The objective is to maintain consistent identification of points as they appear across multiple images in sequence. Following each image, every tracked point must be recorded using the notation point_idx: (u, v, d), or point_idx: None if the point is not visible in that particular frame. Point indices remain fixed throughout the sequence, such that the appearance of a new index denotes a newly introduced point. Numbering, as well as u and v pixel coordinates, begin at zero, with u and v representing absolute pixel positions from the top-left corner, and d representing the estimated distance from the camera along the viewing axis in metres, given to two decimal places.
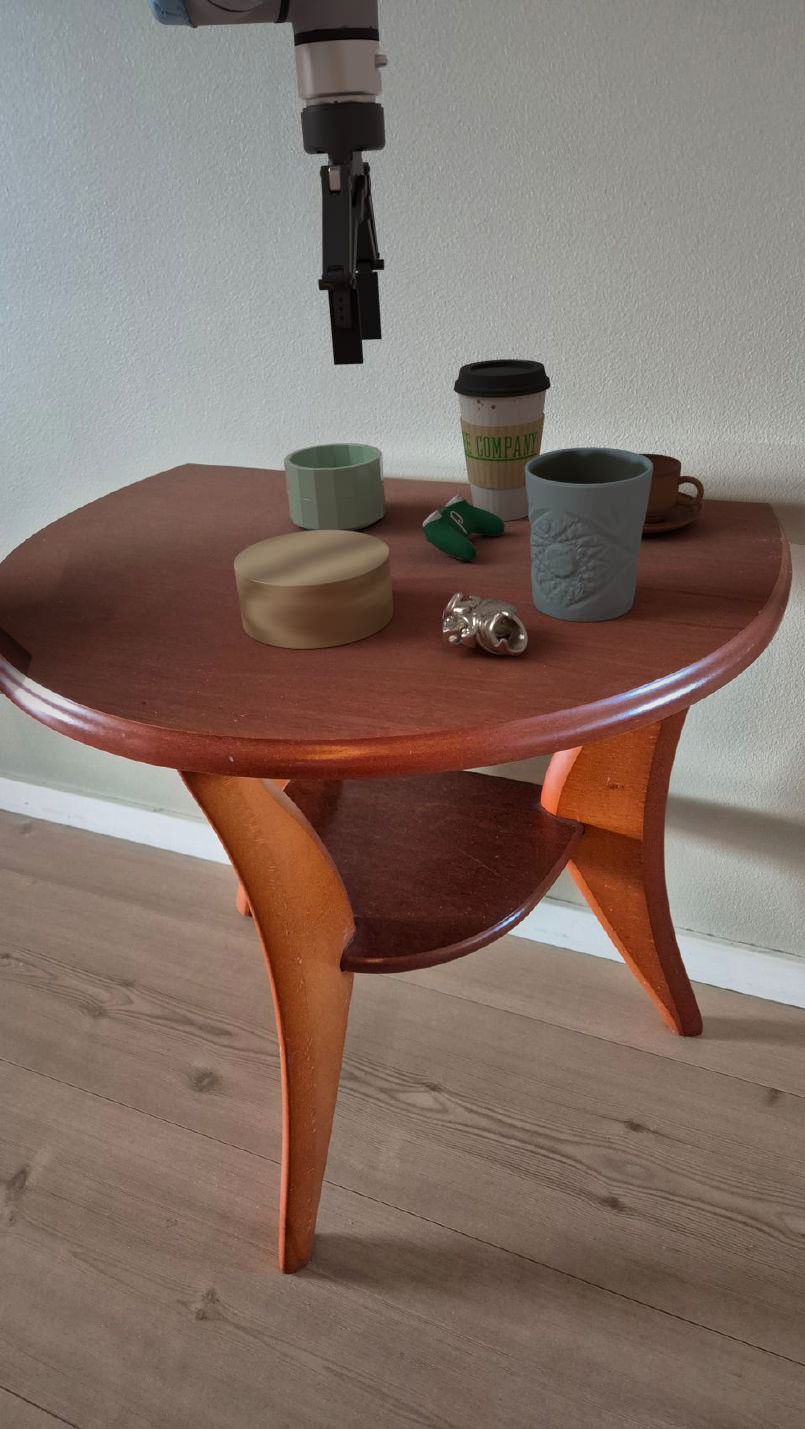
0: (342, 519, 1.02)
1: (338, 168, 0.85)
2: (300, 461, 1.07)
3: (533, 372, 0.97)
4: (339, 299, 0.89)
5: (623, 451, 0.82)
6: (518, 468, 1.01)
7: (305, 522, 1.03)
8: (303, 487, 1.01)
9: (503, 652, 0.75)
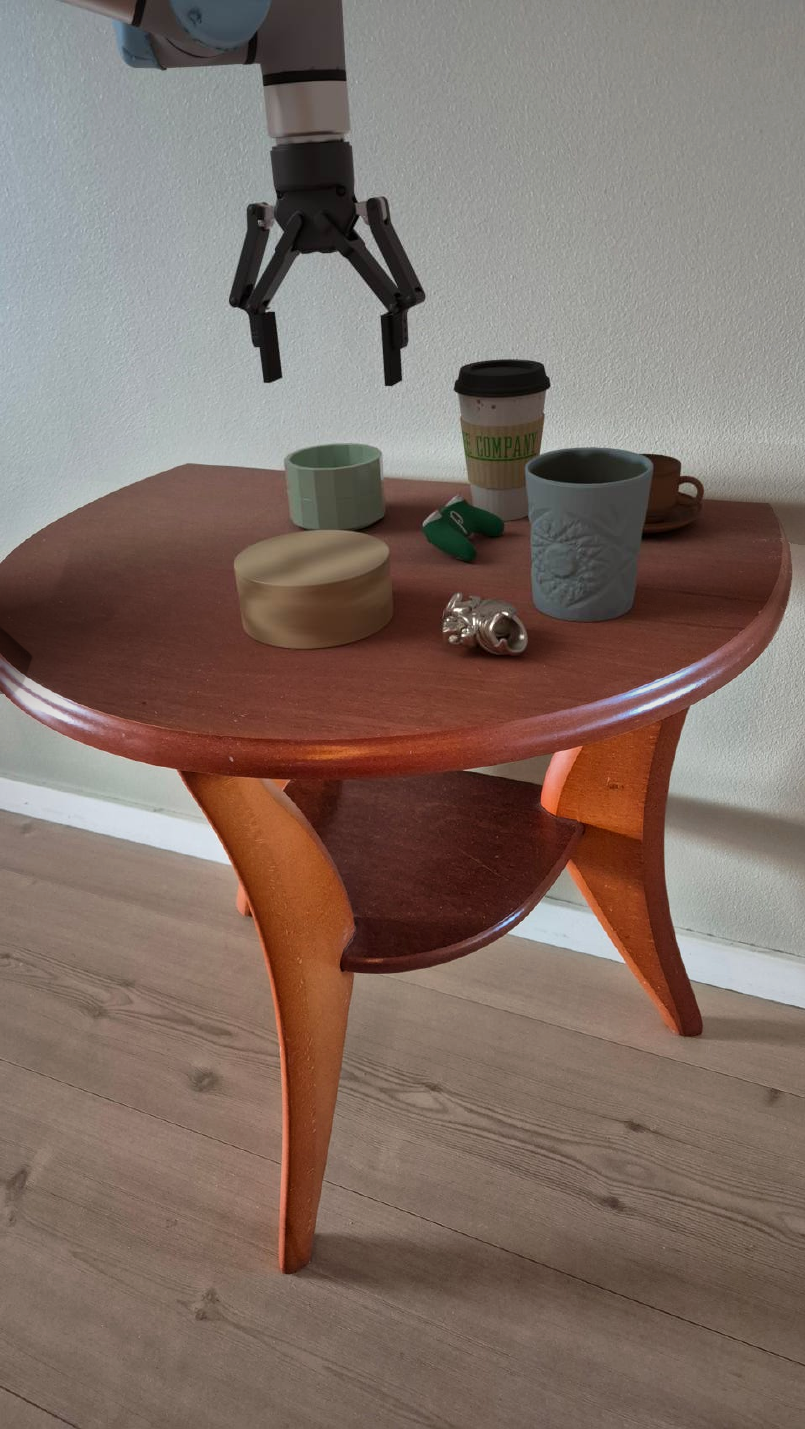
0: (342, 519, 1.02)
1: (383, 200, 0.90)
2: (300, 461, 1.07)
3: (533, 372, 0.97)
4: None
5: (623, 451, 0.82)
6: (518, 468, 1.01)
7: (305, 522, 1.03)
8: (303, 487, 1.01)
9: (503, 652, 0.75)
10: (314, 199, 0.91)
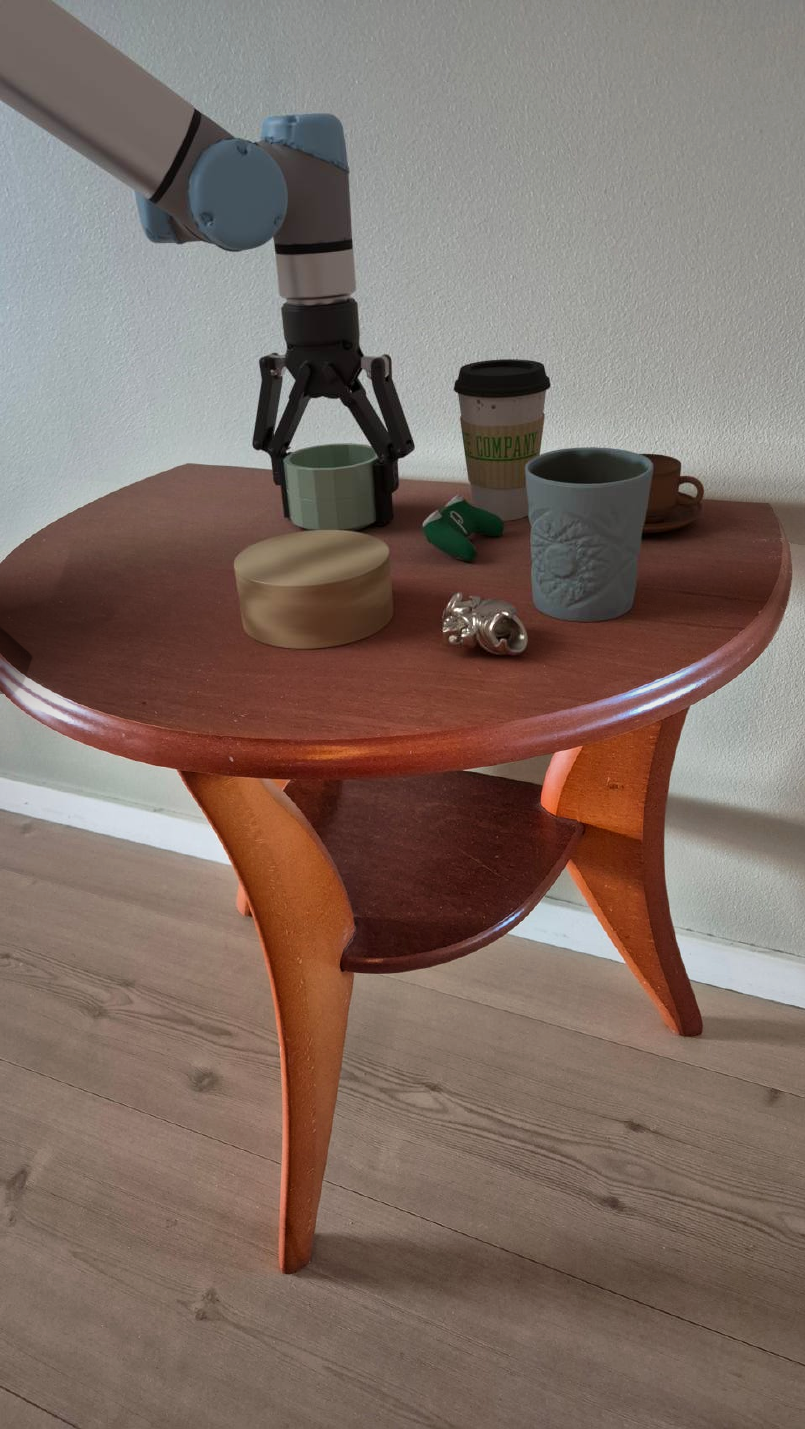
0: (342, 519, 1.02)
1: (387, 359, 0.97)
2: (300, 461, 1.07)
3: (533, 372, 0.97)
4: (393, 468, 1.02)
5: (623, 451, 0.82)
6: (518, 468, 1.01)
7: (305, 522, 1.03)
8: (303, 487, 1.01)
9: (503, 652, 0.75)
10: (322, 351, 0.98)
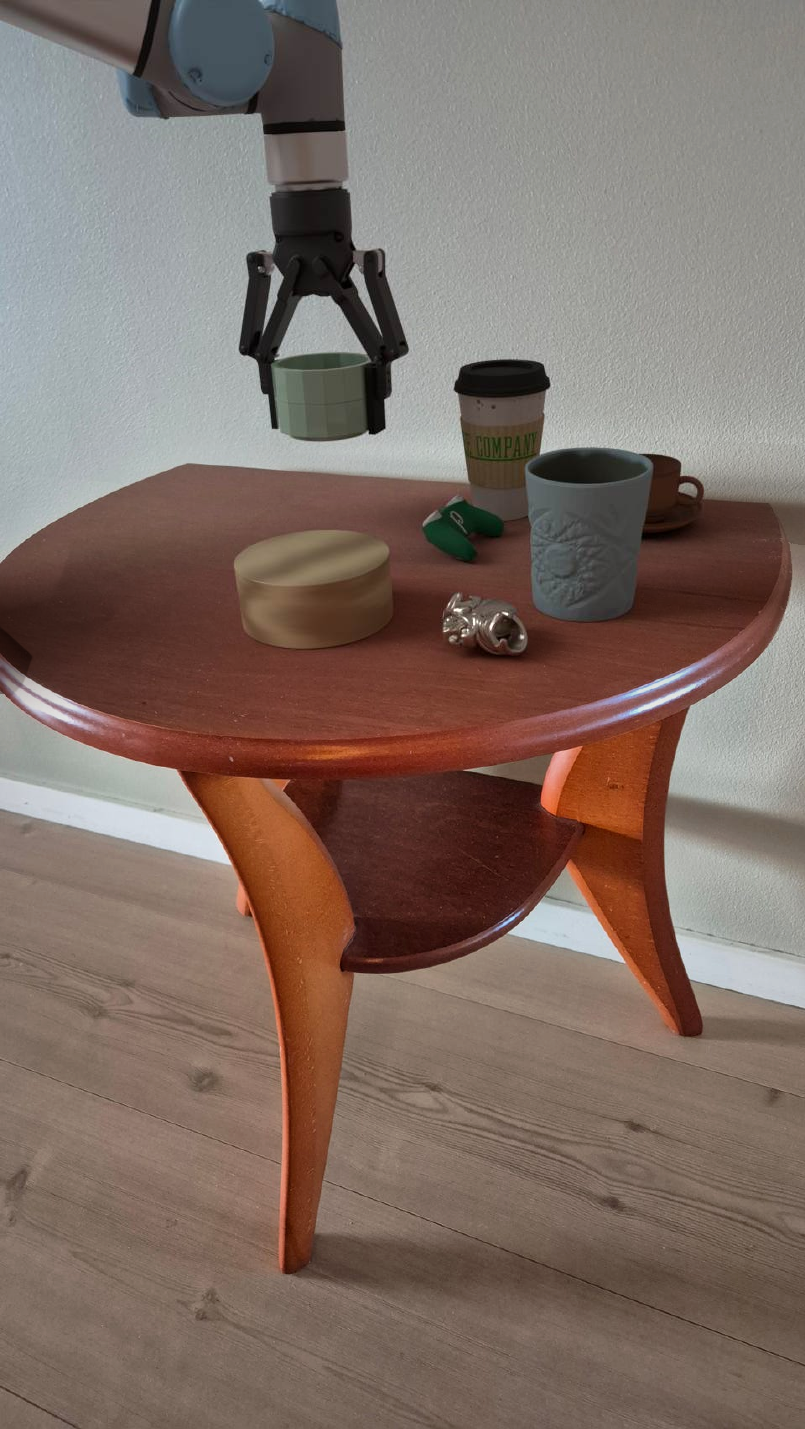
0: (332, 426, 0.97)
1: (381, 253, 0.92)
2: (288, 369, 1.02)
3: (533, 372, 0.97)
4: (386, 372, 0.97)
5: (623, 451, 0.82)
6: (518, 468, 1.01)
7: (293, 430, 0.99)
8: (291, 391, 0.97)
9: (503, 652, 0.75)
10: (312, 244, 0.93)
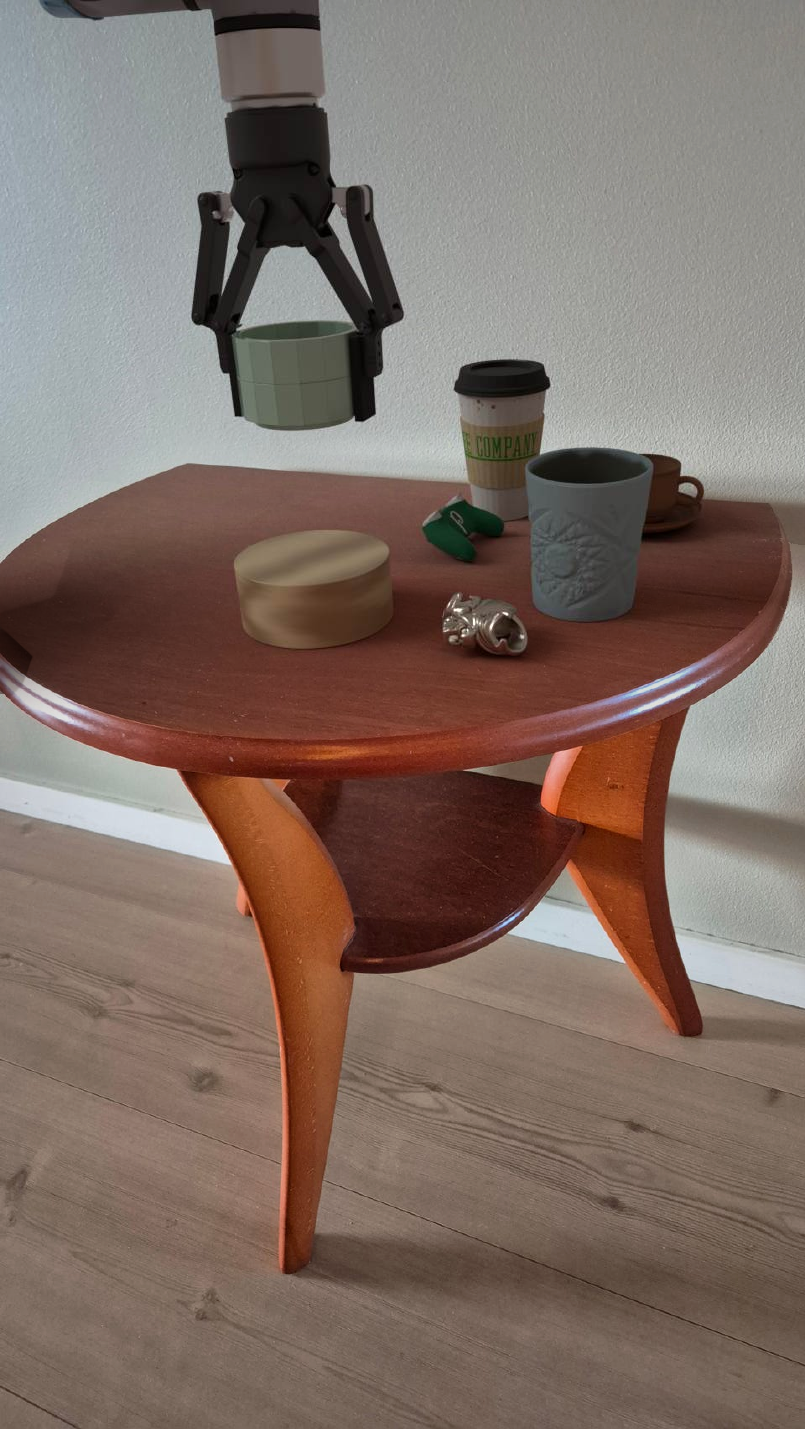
0: (309, 410, 0.78)
1: (367, 190, 0.73)
2: None
3: (533, 372, 0.97)
4: (376, 343, 0.78)
5: (623, 451, 0.82)
6: (518, 468, 1.01)
7: (260, 416, 0.79)
8: (257, 367, 0.77)
9: (503, 652, 0.75)
10: (281, 180, 0.73)
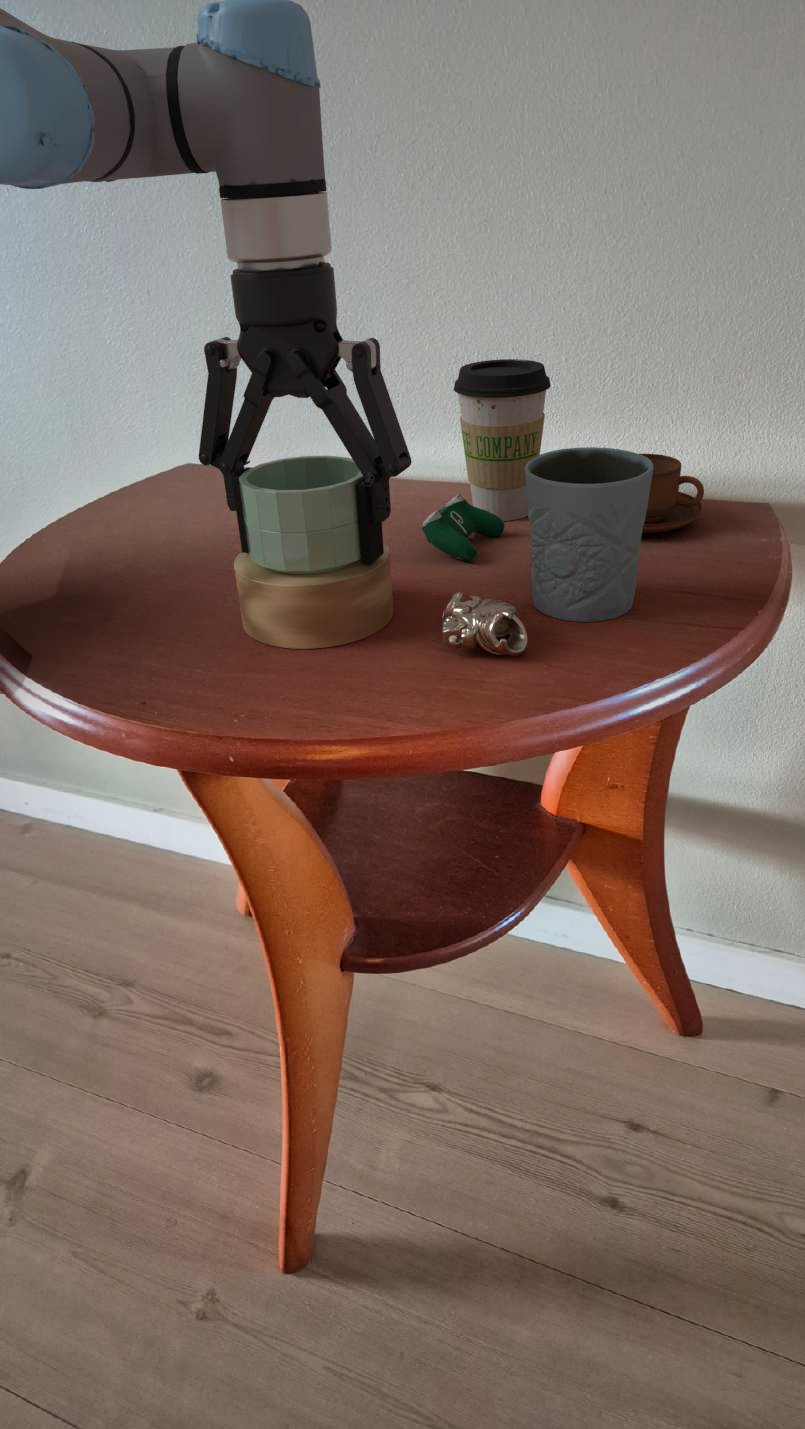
0: (315, 557, 0.77)
1: (374, 344, 0.72)
2: (262, 479, 0.82)
3: (533, 372, 0.97)
4: None
5: (623, 451, 0.82)
6: (518, 468, 1.01)
7: (267, 560, 0.78)
8: (263, 515, 0.76)
9: (503, 652, 0.75)
10: (287, 334, 0.73)
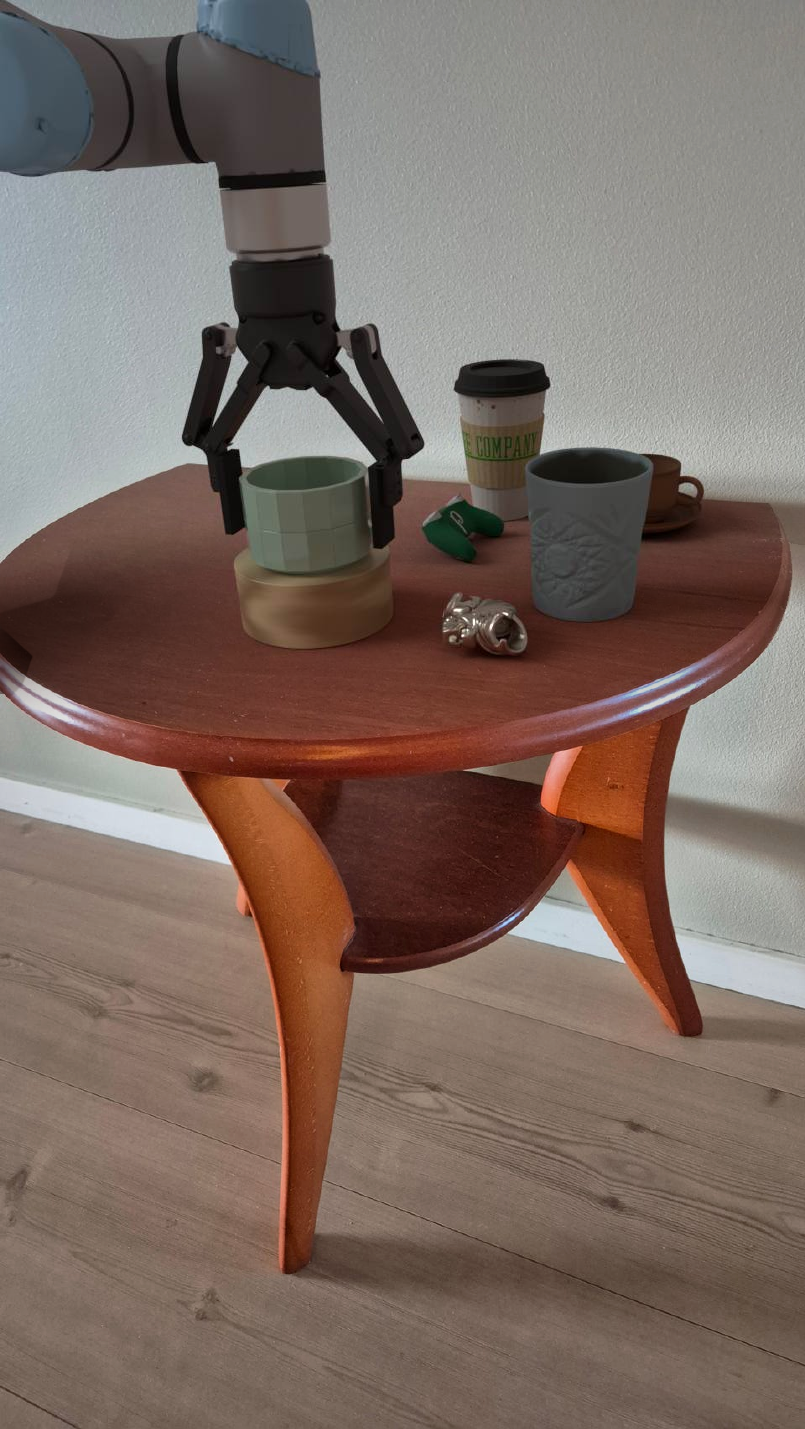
0: (315, 557, 0.77)
1: (372, 329, 0.72)
2: (262, 479, 0.82)
3: (533, 372, 0.97)
4: None
5: (623, 451, 0.82)
6: (518, 468, 1.01)
7: (267, 560, 0.78)
8: (263, 515, 0.76)
9: (503, 652, 0.75)
10: (286, 326, 0.73)
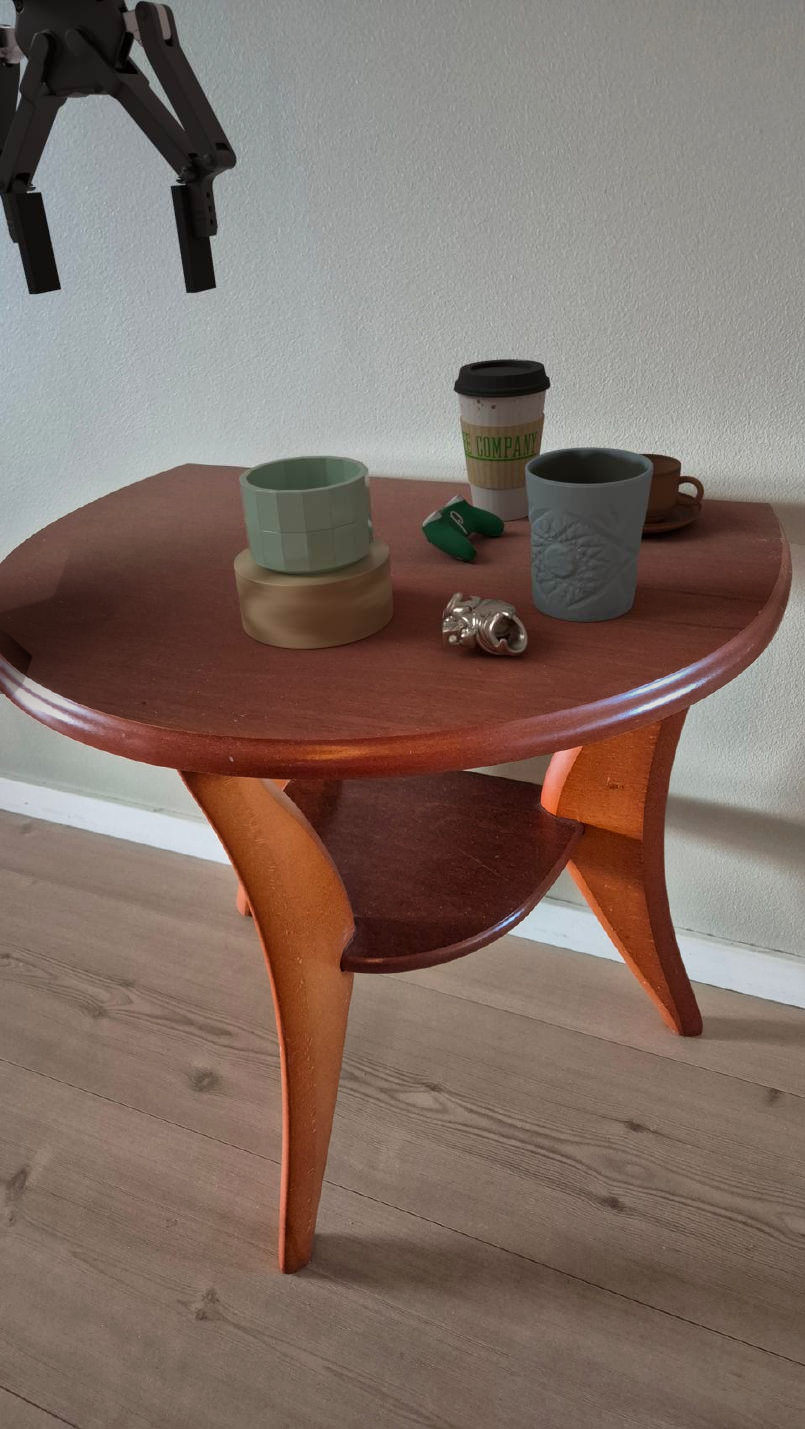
0: (315, 557, 0.77)
1: (163, 8, 0.61)
2: (262, 479, 0.82)
3: (533, 372, 0.97)
4: None
5: (623, 451, 0.82)
6: (518, 468, 1.01)
7: (267, 560, 0.78)
8: (263, 515, 0.76)
9: (503, 652, 0.75)
10: (65, 9, 0.62)
